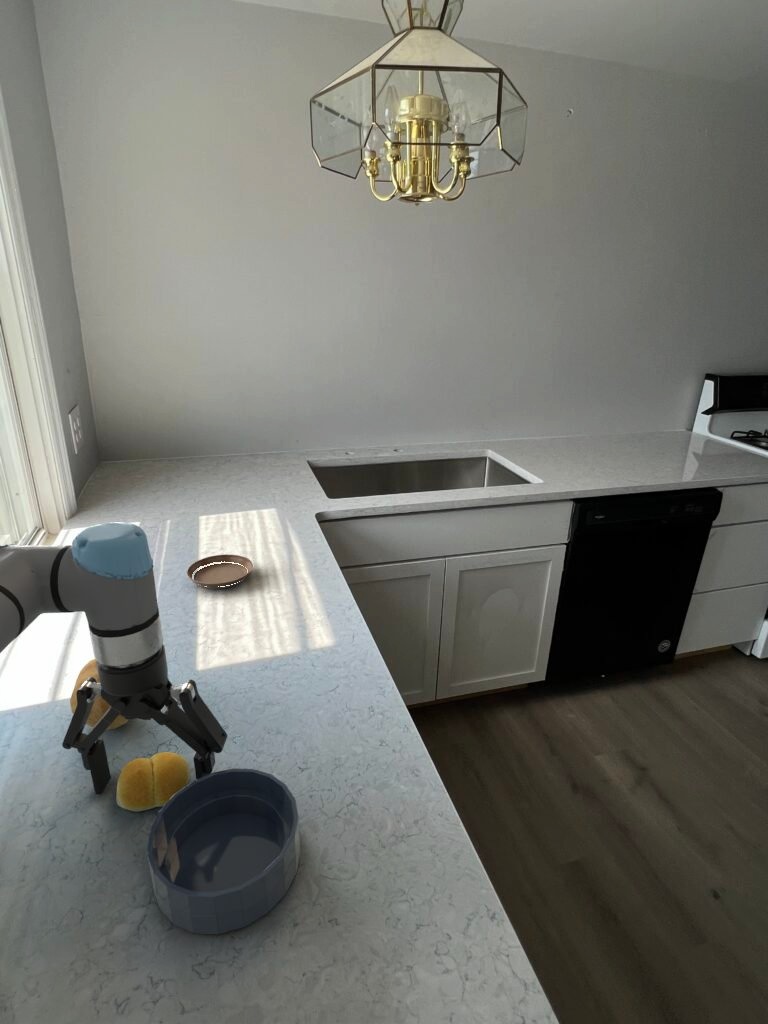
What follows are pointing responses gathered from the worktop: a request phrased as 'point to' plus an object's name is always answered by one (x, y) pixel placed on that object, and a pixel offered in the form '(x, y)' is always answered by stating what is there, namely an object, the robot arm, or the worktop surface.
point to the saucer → (220, 571)
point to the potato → (99, 704)
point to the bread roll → (151, 781)
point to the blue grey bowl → (224, 850)
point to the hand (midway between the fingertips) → (154, 787)
